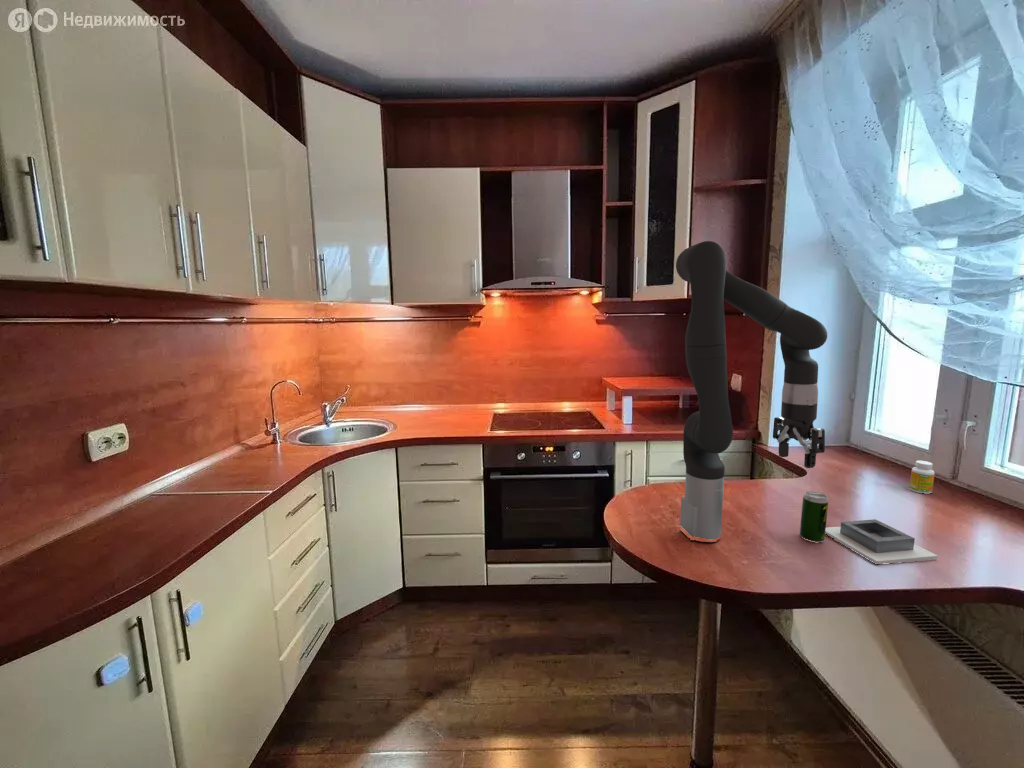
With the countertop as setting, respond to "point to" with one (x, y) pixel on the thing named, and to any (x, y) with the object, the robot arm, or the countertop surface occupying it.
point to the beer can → (814, 516)
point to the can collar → (891, 537)
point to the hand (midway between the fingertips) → (795, 461)
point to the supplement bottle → (922, 477)
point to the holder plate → (881, 558)
